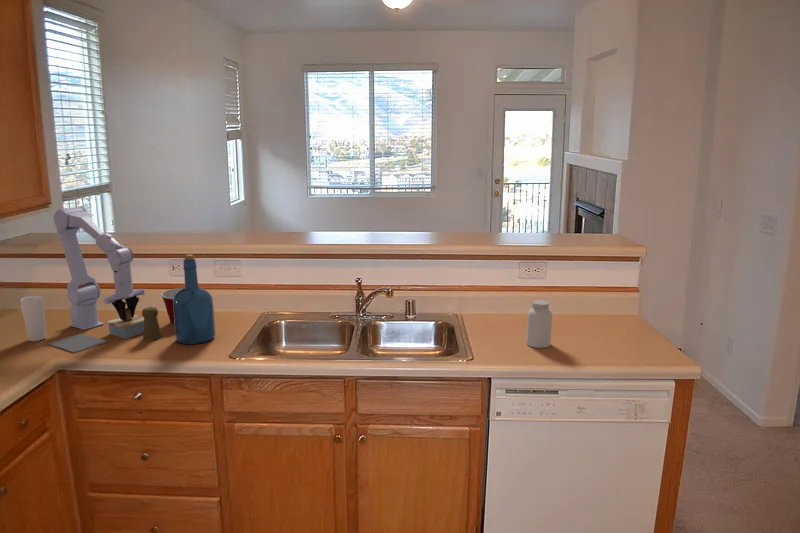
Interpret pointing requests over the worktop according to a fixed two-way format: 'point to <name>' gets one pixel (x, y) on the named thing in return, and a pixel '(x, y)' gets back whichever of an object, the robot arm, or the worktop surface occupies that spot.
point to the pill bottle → (539, 325)
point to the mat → (77, 342)
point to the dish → (127, 330)
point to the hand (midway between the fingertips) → (127, 318)
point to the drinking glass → (34, 317)
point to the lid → (128, 321)
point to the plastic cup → (170, 302)
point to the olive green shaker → (151, 324)
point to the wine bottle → (193, 309)
